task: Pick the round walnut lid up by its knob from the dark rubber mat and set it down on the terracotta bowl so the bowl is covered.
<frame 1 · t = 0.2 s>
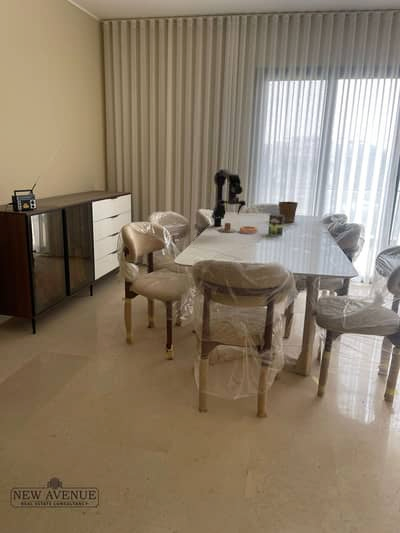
hand: (231, 214, 278), 14 cm above the table, fingers open, 9 cm apart
coffee can: (275, 234, 280), on the table
plant pot: (286, 221, 331), on the table
lid: (227, 230, 287), resting on mat
mat: (227, 231, 287), on the table
bowl: (248, 232, 285), on the table
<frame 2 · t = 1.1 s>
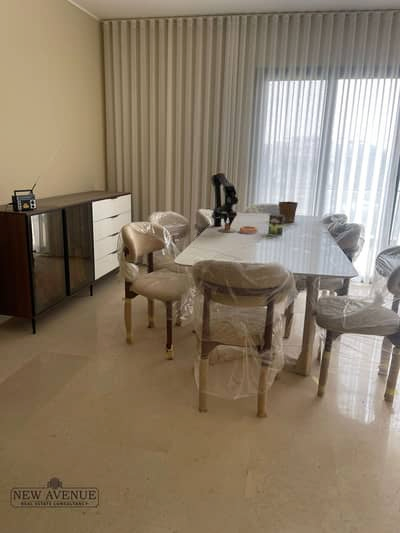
hand: (227, 223, 286), 6 cm above the table, fingers open, 9 cm apart
nothing on the table moved.
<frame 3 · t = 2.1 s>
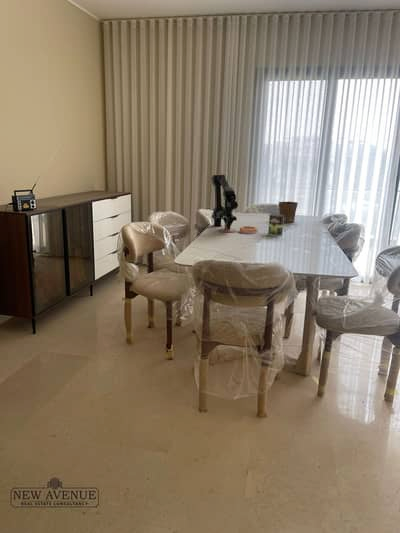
hand: (227, 228, 287), 2 cm above the table, fingers closed on lid, 3 cm apart
lid: (227, 230, 287), resting on mat, touching gripper
everything else where it was.
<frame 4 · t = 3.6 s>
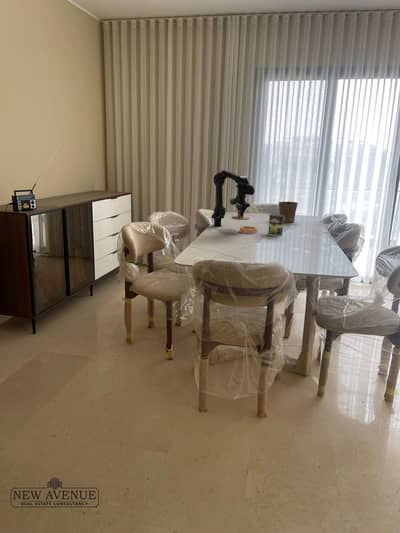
hand: (240, 215, 282), 12 cm above the table, fingers closed on lid, 3 cm apart
lid: (240, 218, 283), point 10 cm above the table, touching gripper
everything else where it was.
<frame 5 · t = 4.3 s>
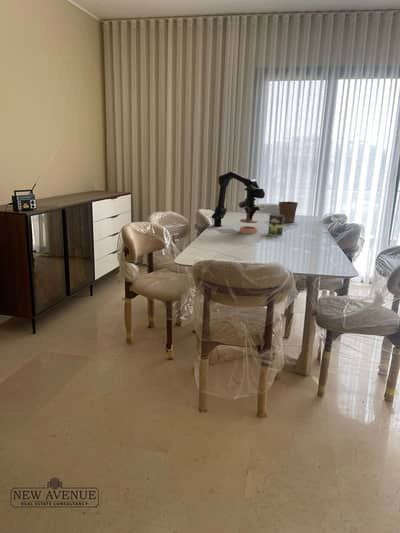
hand: (249, 218, 282), 10 cm above the table, fingers closed on lid, 3 cm apart
lid: (249, 221, 283), point 8 cm above the table, touching gripper
everything else where it was.
when the fingers open (7 cm above the table, at t = 5.0 s): lid drops 2 cm, resting on bowl.
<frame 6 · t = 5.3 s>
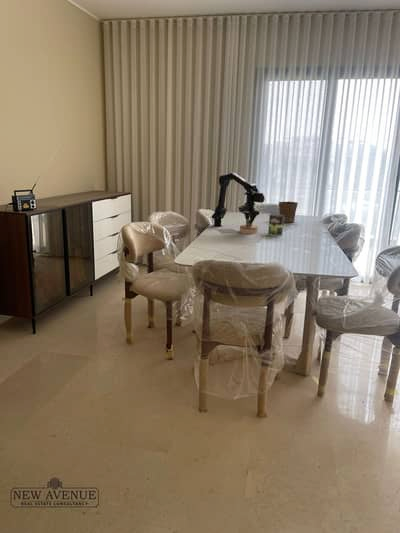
hand: (249, 222, 283), 7 cm above the table, fingers open, 6 cm apart
lid: (248, 227, 284), point 3 cm above the table, touching bowl
everything else where it was.
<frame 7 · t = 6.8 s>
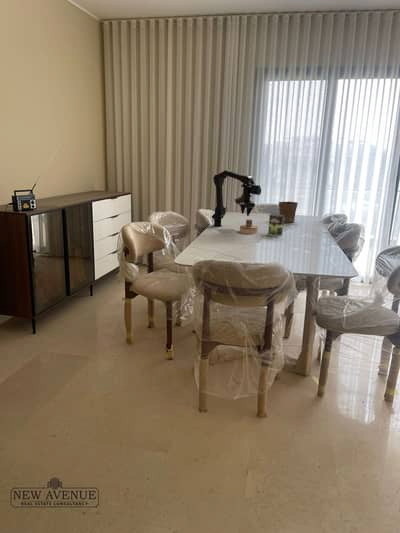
hand: (245, 214, 288), 12 cm above the table, fingers open, 9 cm apart
nothing on the table moved.
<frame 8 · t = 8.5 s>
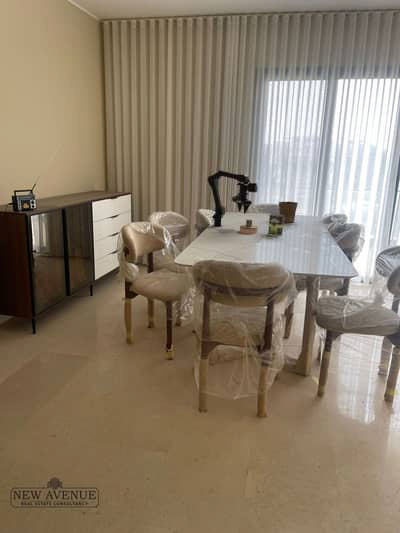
hand: (242, 212, 293), 13 cm above the table, fingers open, 9 cm apart
nothing on the table moved.
at the end: lid 0.1 cm off-centre on the bowl, point 3.5 cm above the bowl's base; lid tilted 0°; the gripper is holding nothing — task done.
